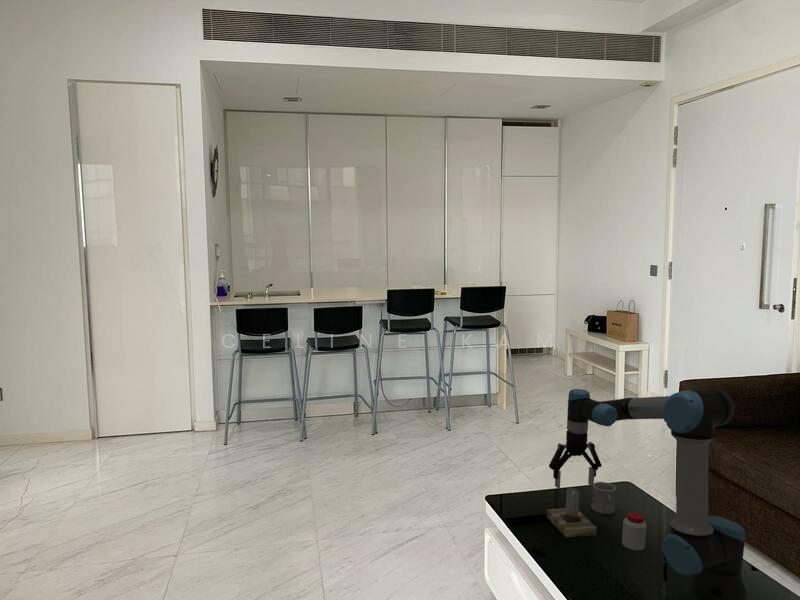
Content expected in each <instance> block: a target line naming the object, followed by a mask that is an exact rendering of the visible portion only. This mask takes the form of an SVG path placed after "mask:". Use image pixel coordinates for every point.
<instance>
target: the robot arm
mask: <svg viewBox="0 0 800 600" xmlns="http://www.w3.org/2000/svg"><path fill="white" fill-rule="evenodd" d="M590 394H591V392H589V391H588V390H586V389H582V388H573V389H570V390H569V392H568V399H567V419H566V429H567V430H566V432H565V433H566V437H565V440H566V443H565V444H564V443H563V444H562V443H560V442H559V443H558V444H557V449H556V451H555V452H554V455H553V457H552V458H551V459H550V460H551V461H550V462H549V464H548V467H549V469H551V470H552V472H553V474H552V477H553V479H554V486H555V488H557V489H561V474H562V471H561V468H562V467H563V466H564V465H565V464H566V462H567V461H568V460H569V459H570V458H571V457H577V456H578V457H582V456H583V458H584V459H585V461H586V462H587V463H588V464H589V465H590V466H589V467H588V476H587V477H588V481H587V484H588V485H589V486H590V487H592V488H593V486H594V483H595V477H596V476H597V471H598V470H599V468H601V467H602V466H603V464H602V463H601V461H600V458H599V455H598V453H597V451H596V446H595V443H593V442H591V441H589V442H588V434H589V433H588V431H589V421H590V422H593V423H595V424H597V425H599V426H603V427H611V426H612V425H613V424H615V423H616V422H618V421H626V420H663V421H664V422H665V423H666V424H665V425H666V426H667V428H669V429H670V435H671V436H672V437H673V438H674V439H675V441H676V463H675V464H676V467H675V468H676V469H675V470H676V481H675V483H676V484H675V485H676V487H675V488H676V490H675V491H676V492H675V493H676V495H675V510H676V511H675V514H676V515H675V516H676V517H675V518H674V519H672V520H671V522H670V534H667V535H666V537H664V538H663V540H662V542H661V548H662V553H663V556H664V558H665V560H666V562H668V564H669V566H670V567H672V569H673V570H675V571H676V572H677V573H679V574H680V575H684V576H691V577H690V588H691V590H692V591H693V592H694V593H695V594H696V596H698V597H700V598H701V599H703V600H746V597H747V592H746V588H745V585H744V579H743V576H742V571H743V570H742V568H743V560H744V551H745V542H746V531H745V529H744V528H743V526H741V525H740V524H739V523H737V522H735V521H734V520H733V521H732V520H730V519H729V518H725V517H722V516H716V515H709V449H710V448H709V446H710V445H709V444H710V443H711V442H713V440H714V439H715V428H717V427H721V426H724V425H725V424H727V423H729V421H730V420H732V417H734V413H735V404H734V401H733V399H732V398H731V396H730V395H729V394H728V393H727V392H725V391H724V390H722V389H719V388H716V387H705V388H699V389H688V390H687V389H686V390H685V389H684V390H681V391H678V392H675V393H673V394H671V395H667V396H666V395H665V396H663V395H662V396H651V397H650V396H648V397H647V396H646V397H645V396H643V397H625V398H617V399H610V400H602V401H598V400H594V399H592V398H591V395H590ZM587 449H588V450H589V452H590V455H591V457H590V456H589V454H588V453H587V452H586V450H587ZM592 459H593V460H592Z"/></svg>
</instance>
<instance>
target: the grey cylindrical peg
mask: <svg viewBox="0 0 800 600" xmlns="http://www.w3.org/2000/svg"><path fill="white" fill-rule="evenodd" d="M580 493H581V492H580V490H579V489H578V488H575V487H569V488H567V489H566V496H565V497H566V498H565V499H566V500H565V501H566V502H565V508H566V511H565V521H566V522H567V523H575V522H578V510H579V506H580Z"/></svg>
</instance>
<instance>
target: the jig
mask: <svg viewBox="0 0 800 600" xmlns="http://www.w3.org/2000/svg"><path fill="white" fill-rule="evenodd" d="M565 511H566V507H563V508H552V509H551V508H549V509H546V517H547V519H548V520H549V521H550V522H551V523H552V524H553V525H554V527H556V529H558V531H559V532H560V533H561V534H562V535H563V536H564V537H565V538H577V537H578V536H580V537H591V535H592V537H593V535H594V536H597V528H598V527H597V526H596V525H594V523H593V522H591V520H590V519H589V518H587V516H586V515H585V514H583V513H582V512H581V511H580V510H579V509H578V522H575V523H567V522H566V521H565Z"/></svg>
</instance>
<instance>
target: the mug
mask: <svg viewBox="0 0 800 600" xmlns="http://www.w3.org/2000/svg"><path fill="white" fill-rule="evenodd" d="M616 491H617V487H616V485H614V484H612V483H610V482H605V481H594V486H593V487H592V498H591V499H592V500H591V505H590V507H591V510H593V511H594V512H596V513H598V514H601V515H612V514H614V513H615V511H616V503H615V501H616Z"/></svg>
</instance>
